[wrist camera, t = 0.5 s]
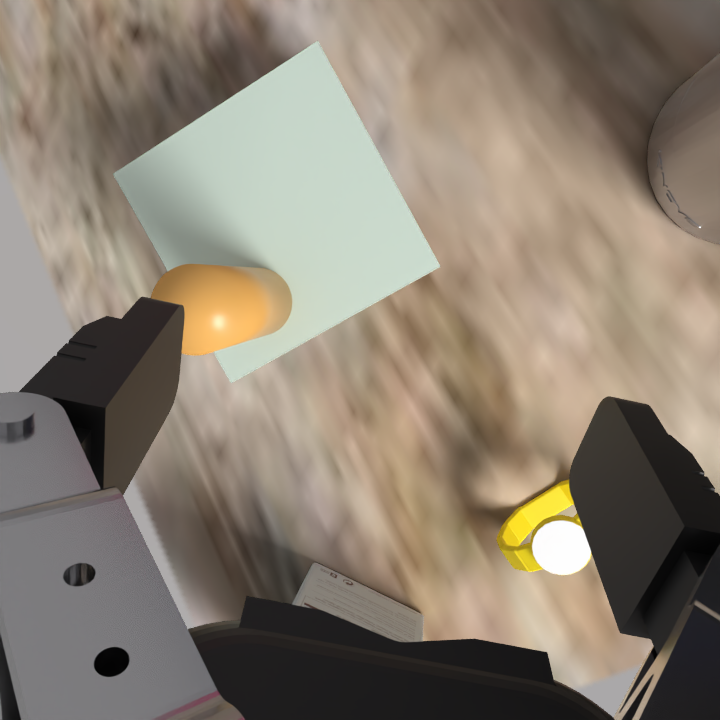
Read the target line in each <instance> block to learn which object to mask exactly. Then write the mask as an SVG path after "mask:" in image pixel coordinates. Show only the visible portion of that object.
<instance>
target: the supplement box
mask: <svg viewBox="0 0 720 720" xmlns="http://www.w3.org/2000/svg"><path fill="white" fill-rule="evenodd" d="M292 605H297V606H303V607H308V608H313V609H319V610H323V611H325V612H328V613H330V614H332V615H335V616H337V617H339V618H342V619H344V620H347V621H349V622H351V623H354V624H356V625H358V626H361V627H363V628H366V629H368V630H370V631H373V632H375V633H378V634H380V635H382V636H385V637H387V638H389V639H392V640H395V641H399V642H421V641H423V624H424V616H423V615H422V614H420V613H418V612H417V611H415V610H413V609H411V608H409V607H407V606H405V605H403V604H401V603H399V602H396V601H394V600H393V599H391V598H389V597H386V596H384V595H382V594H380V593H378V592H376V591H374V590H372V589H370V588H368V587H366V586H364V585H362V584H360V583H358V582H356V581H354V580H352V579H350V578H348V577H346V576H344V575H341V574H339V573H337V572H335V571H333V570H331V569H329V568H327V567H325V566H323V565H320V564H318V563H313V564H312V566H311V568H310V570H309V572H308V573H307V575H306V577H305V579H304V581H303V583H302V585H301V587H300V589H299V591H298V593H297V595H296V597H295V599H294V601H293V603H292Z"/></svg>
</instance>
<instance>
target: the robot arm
mask: <svg viewBox="0 0 720 720" xmlns="http://www.w3.org/2000/svg"><path fill="white" fill-rule="evenodd" d="M647 166H648V173H649V179H650V184H651V186H652V189H653V191H654V194H655V196H656V199H657V201H658V202H659V204H660V205H661V207H662V208H663V210H664V211H665V213H666V214H667V215H668V216H669V217H670V218H671V219H672V220H673V221H674V222H675V223H676V224H677V225H678V226H679V227H680V228H682V229H684V230H685V231H687V232H689V233H690V234H692V235H694V236H696V237H697V238H700V239H703V240H706V241H709V242H713V243H716V244H720V53H719V54H718V55H717V56H715V57H714V58H713V59H712V60H711V61H709V62H708V63H707V64H706V65H705V66H704V67H702V68H701V69H700V70H699V71H698V72H696V73H695V74H694V75H693V76H692V77H691V78H689V79H688V80H687V81H686V82H685V83H683V84H682V85H681V86H680V87H679V88H678V89H676V91H675V92H674V93H673V94H672V96H671V97H670V98H669V99H668V101H667V102H666V103H665V104H664V106H663V108H662V110H661V111H660V113H659V115H658V117H657V119H656V121H655V123H654V126H653V129H652V133H651V136H650V140H649V143H648V157H647ZM184 318H185V312H184V307H183V305H180V304H175V303H170V302H166V301H161V300H156V299H152V298H147V297H141V298H140V299H139V300H138V301H137V302H136V303H135V304H134V305H133V306H132V308H131V309H130V310H129V311H128V312H127V313H126V314H125V315H124V317H123V318H122V319H119V318H114V317H109V316H106V317H104V318H101V319H99V320H96V321H94V322H92V323H89V324H87V325H85V326H83V327H82V328H81V329H80V330H79V331H78V332H77V333H76V334H75V335H74V336H73V337H72V338H71V339H70V340H69V343H68V344H67V343H66V344H65V345H64V346H63V348H61V349H60V350H59V351H58V352H57V356H54V357H52V359H51V360H50V361H49V362H48V363H47V364H46V365H45V366H44V367H43V368H42V369H41V370H40V371H39V372H38V373H37V374H36V375H35V376H34V377H33V378H32V379H31V380H30V381H29V382H28V383H27V384H26V385H25V386H24V387H23V388H22V389H21V390H20V391H19V392H8V393H0V720H720V496H719V494H718V493H715V492H714V490H715V488H714V487H713V485H712V484H711V482H710V481H709V479H708V477H705V476H704V471H703V470H702V468H701V467H700V465H699V464H698V462H697V461H696V459H695V458H694V456H693V455H692V453H690V452H689V451H688V450H687V449H686V448H685V447H684V446H682V445H681V444H680V443H679V442H678V441H677V440H676V439H674V438H673V437H672V436H671V435H668V434H667V432H666V430H665V429H664V427H663V426H662V424H661V422H660V421H659V419H658V418H657V416H656V415H655V413H654V411H653V410H652V408H651V407H650V406H649V405H647V404H643V403H638V402H634V401H629V400H624V399H619V398H615V397H606V398H604V399H603V400H602V401H601V403H600V404H599V406H598V408H597V410H596V412H595V414H594V416H593V418H592V421H591V423H590V425H589V427H588V429H587V431H586V434H585V436H584V438H583V440H582V442H581V444H580V447H579V449H578V451H577V453H576V455H575V457H574V460H573V462H572V465H571V469H570V475H569V489H570V493H571V496H572V499H573V502H574V505H575V508H576V510H577V513H578V516H579V519H580V522H581V524H582V527H583V530H584V533H585V536H586V538H587V541H588V544H589V547H590V550H591V553H592V555H593V558H594V561H595V564H596V567H597V569H598V572H599V575H600V578H601V581H602V583H603V586H604V589H605V592H606V595H607V598H608V600H609V603H610V606H611V609H612V612H613V614H614V617H615V620H616V623H617V626H618V628H619V631H620V633H622V634H627V635H632V636H638V637H643V638H648V639H651V640H652V643H653V645H654V646H653V647H652V649H651V650H650V652H649V653H648V655H647V657H646V658H645V660H644V661H643V663H642V665H641V667H640V669H639V671H638V673H637V674H636V676H635V678H634V680H633V682H632V684H631V686H630V688H629V690H628V691H627V693H626V695H625V697H624V699H623V701H622V703H621V705H620V707H619V709H618V710H617V712H616V714H615V716H614V718H613V717H612V716H611V715H609V714H608V713H607V712H606V711H604V710H603V709H602V708H600V707H599V706H598V705H597V704H595V703H594V702H592V701H591V700H589V699H588V698H586V697H585V696H583V695H582V694H580V693H579V692H577V691H575V690H573V689H571V688H570V687H568V686H566V685H564V684H562V683H560V682H558V681H555V680H553V675H552V671H551V667H550V662H549V658H548V654H547V652H542V651H537V650H532V649H526V648H521V647H516V646H510V645H505V644H500V643H494V642H489V641H484V640H478V639H461V640H441V641H421V642H399V641H395V640H392V639H389V638H387V637H385V636H382V635H380V634H378V633H375V632H373V631H370V630H368V629H366V628H363V627H361V626H358V625H356V624H354V623H351V622H349V621H347V620H344V619H342V618H339V617H337V616H335V615H332V614H330V613H328V612H325V611H323V610H319V609H313V608H308V607H303V606H297V605H292V604H287V603H281V602H276V601H271V600H265V599H260V598H255V597H249V596H247V597H246V601H245V605H244V609H243V613H242V617H241V620H233V621H222V622H216V623H210V624H205V625H201V626H198V627H194V628H190V629H187V627H186V625H185V623H184V621H183V619H182V617H181V615H180V613H179V611H178V608H177V607H176V604H175V602H174V600H173V598H172V596H171V595H170V592H169V590H168V588H167V586H166V584H165V582H164V580H163V578H162V576H161V573H160V571H159V569H158V568H157V565H156V563H155V561H154V559H153V557H152V555H151V553H150V551H149V549H148V547H147V545H146V543H145V541H144V538H143V537H142V535H141V532H140V530H139V528H138V526H137V524H136V522H135V520H134V518H133V516H132V514H131V512H130V510H129V508H128V506H127V504H126V502H125V499H124V497H123V494H124V493H125V491H126V489H127V487H128V485H129V484H130V482H131V480H132V478H133V476H134V475H135V473H136V471H137V469H138V468H139V466H140V464H141V462H142V460H143V459H144V457H145V455H146V453H147V451H148V450H149V448H150V446H151V444H152V442H153V441H154V439H155V437H156V435H157V434H158V432H159V430H160V428H161V426H162V425H163V423H164V421H165V419H166V417H167V416H168V414H169V412H170V410H171V408H172V405H173V403H174V400H175V396H176V392H177V388H178V383H179V374H180V363H181V352H182V341H183V330H184Z"/></svg>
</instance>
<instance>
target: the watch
mask: <svg viewBox="0 0 720 720" xmlns="http://www.w3.org/2000/svg"><path fill="white" fill-rule="evenodd" d="M572 504H574V502H573V499H572V496H571V493H570V489H569V480H565V481H562V482H559V483H558V484H557V485H555V486H553V487H552V488H550V489H549V490H547V491H545V492H544V493H542V494H541V495H539V496H537V497H536V498H534V499H533V500H531V501H529V502H528V503H526V504H525V505H523V506H521V507H520V506H519V507H518V509H516V510H515V511H514V512H513V513H512V514H511V516H510V517H509V518H508V519H507V520H506V521H505V522H504V524H503V525H502V527H501V529H500V532H499V534H498V536H497V543H498V545H499V548H500V550H501V551H502V552H503V554H504V555H505V557H506V558H507V560H508V561H509V562H510V564H511V565H512V567H513V568H515V569H518V570H523V571H528V572H531V571H532V572H533V571H537V570H541V569H545V570H546V571H548V572H550V573H553V574H557V575H570V574H573V573H576V572H578V571H580V570H581V569H582V568H584V567H585V566H586V565H587V563H588V561H589V560H590V558H591V555H592V553H591V550H590V547H589V544H588V541H587V538H586V536H585V533H584V530H583V527H582V524H581V522H580V519H579V516H578V513H577V514H576V515H575V516H574V517H573V518H572V517H569V516H564V515H556V514H558V513H559V512H561V511H563V510H564V509H566V508H568V507H569V506H571V505H572ZM555 515H556V516H555ZM533 528H535V529H534V530H533ZM532 530H533V532H532V536H531V543H527V544H524V545H521V546H519V545H520V543H521V542H522V541H523V540H524V539H525V538H526V536H527V535H528V534H529V533H530V532H531V531H532Z"/></svg>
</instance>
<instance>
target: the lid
mask: <svg viewBox="0 0 720 720" xmlns="http://www.w3.org/2000/svg"><path fill="white" fill-rule="evenodd" d="M113 175H114V177H115V179H116V180H117V182H118V184H119V186H120V188H121V189H122V191H123V193H124V195H125V196H126V198H127V200H128V202H129V203H130V205H131V207H132V209H133V211H134V212H135V214H136V216H137V218H138V219H139V221H140V223H141V225H142V226H143V228H144V230H145V232H146V234H147V235H148V237H149V239H150V241H151V242H152V244H153V246H154V248H155V249H156V251H157V253H158V255H159V257H160V258H161V260H162V262H163V264H164V265H165V267H166V269H167V271H168V272H167V273H165V274H164V275H163V276H162V277H161V278H160V280H159V281H158V282H157V284H156V286H155V288H154V290H153V292H152V296H151V298H152V299H156V300H161V301H166V302H170V303H175V304H180V305H183V307H184V312H185V318H184V330H183V341H182V352H181V353H183V354H187V355H204V354H208V353H211V352H214V354H215V356H216V357H217V359H218V361H219V363H220V365H221V366H222V368H223V370H224V372H225V373H226V375H227V377H228V379H229V380H230V382H231V383H233V382H235V381H237V380H239V379H240V378H242V377H244V376H246V375H248V374H249V373H251V372H253V371H255V370H257V369H258V368H260V367H262V366H264V365H265V364H267V363H269V362H271V361H273V360H274V359H276V358H278V357H280V356H282V355H283V354H285V353H287V352H289V351H291V350H292V349H294V348H296V347H298V346H299V345H301V344H303V343H305V342H307V341H308V340H310V339H312V338H314V337H316V336H317V335H319V334H321V333H323V332H325V331H326V330H328V329H330V328H332V327H334V326H335V325H337V324H339V323H341V322H342V321H344V320H346V319H348V318H350V317H351V316H353V315H355V314H357V313H359V312H360V311H362V310H364V309H366V308H368V307H369V306H371V305H373V304H375V303H376V302H378V301H380V300H382V299H384V298H385V297H387V296H389V295H391V294H393V293H394V292H396V291H398V290H400V289H402V288H403V287H405V286H407V285H409V284H411V283H412V282H414V281H416V280H418V279H419V278H421V277H423V276H425V275H427V274H428V273H430V272H432V271H434V270H436V269H437V268H439V267H440V265H439V263H438V261H437V259H436V257H435V255H434V254H433V252H432V250H431V248H430V246H429V244H428V243H427V241H426V239H425V237H424V235H423V233H422V232H421V230H420V228H419V226H418V224H417V222H416V220H415V219H414V217H413V215H412V213H411V211H410V209H409V208H408V206H407V204H406V202H405V200H404V198H403V197H402V195H401V193H400V191H399V189H398V187H397V186H396V184H395V182H394V180H393V178H392V176H391V175H390V173H389V171H388V169H387V167H386V165H385V163H384V162H383V160H382V158H381V156H380V154H379V152H378V151H377V149H376V147H375V145H374V143H373V141H372V140H371V138H370V136H369V134H368V132H367V130H366V129H365V127H364V125H363V123H362V121H361V119H360V118H359V116H358V114H357V112H356V110H355V108H354V106H353V105H352V103H351V101H350V99H349V97H348V95H347V94H346V92H345V90H344V88H343V86H342V84H341V83H340V81H339V79H338V77H337V75H336V73H335V72H334V70H333V68H332V66H331V64H330V62H329V60H328V59H327V57H326V55H325V53H324V51H323V49H322V48H321V46H320V44H319V42H318V41H317V42H315V43H314V44H312V45H311V46H309V47H308V48H306V49H305V50H303V51H301V52H300V53H298V54H297V55H295V56H294V57H292V58H291V59H289V60H288V61H286V62H284V63H283V64H281V65H280V66H278V67H277V68H275V69H274V70H272V71H271V72H269V73H268V74H266V75H264V76H263V77H261V78H260V79H258V80H257V81H255V82H254V83H252V84H251V85H249V86H248V87H246V88H244V89H243V90H241V91H240V92H238V93H237V94H235V95H234V96H232V97H231V98H229V99H227V100H226V101H224V102H223V103H221V104H220V105H218V106H217V107H215V108H214V109H212V110H211V111H209V112H207V113H206V114H204V115H203V116H201V117H200V118H198V119H197V120H195V121H194V122H192V123H190V124H189V125H187V126H186V127H184V128H183V129H181V130H180V131H178V132H177V133H175V134H174V135H172V136H170V137H169V138H167V139H166V140H164V141H163V142H161V143H160V144H158V145H157V146H155V147H153V148H152V149H150V150H149V151H147V152H146V153H144V154H143V155H141V156H140V157H138V158H137V159H135V160H133V161H132V162H130V163H129V164H127V165H126V166H124V167H123V168H121V169H120V170H118V171H116V172H115V173H113Z"/></svg>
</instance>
